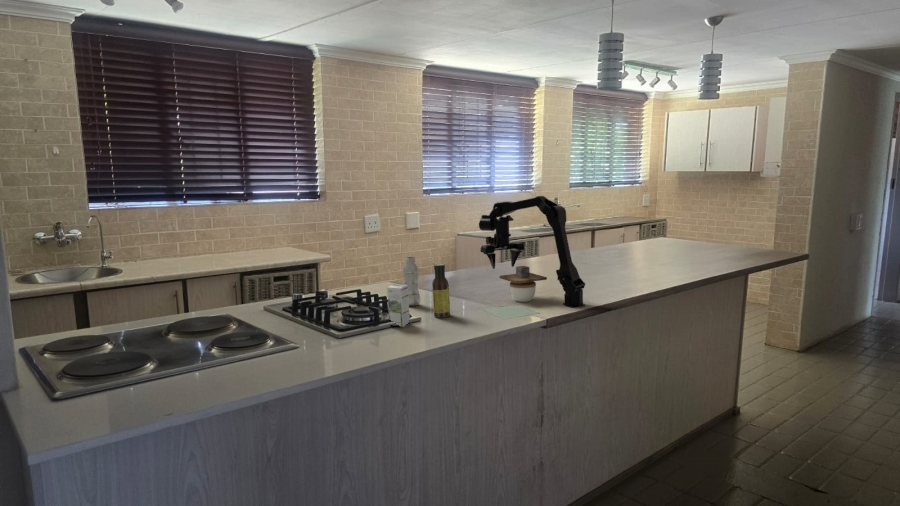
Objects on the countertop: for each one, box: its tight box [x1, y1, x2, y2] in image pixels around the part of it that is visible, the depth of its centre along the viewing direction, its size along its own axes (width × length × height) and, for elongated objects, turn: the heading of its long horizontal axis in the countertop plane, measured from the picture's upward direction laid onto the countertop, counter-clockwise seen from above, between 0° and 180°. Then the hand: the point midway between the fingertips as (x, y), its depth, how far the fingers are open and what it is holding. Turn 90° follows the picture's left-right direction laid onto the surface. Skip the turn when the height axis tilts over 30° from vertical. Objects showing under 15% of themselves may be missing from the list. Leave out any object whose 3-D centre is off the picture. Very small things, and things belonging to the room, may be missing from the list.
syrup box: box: [386, 284, 411, 328], centre depth 207 cm, size 6×6×14 cm
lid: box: [499, 265, 548, 284], centre depth 237 cm, size 14×14×5 cm
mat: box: [483, 304, 540, 320], centre depth 220 cm, size 16×16×1 cm
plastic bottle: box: [402, 256, 421, 307], centre depth 236 cm, size 6×7×20 cm
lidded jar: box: [509, 281, 537, 303], centre depth 238 cm, size 11×11×9 cm
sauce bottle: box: [431, 263, 451, 319], centre depth 217 cm, size 6×6×20 cm
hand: (503, 267), depth 247 cm, fingers open, 9 cm apart
